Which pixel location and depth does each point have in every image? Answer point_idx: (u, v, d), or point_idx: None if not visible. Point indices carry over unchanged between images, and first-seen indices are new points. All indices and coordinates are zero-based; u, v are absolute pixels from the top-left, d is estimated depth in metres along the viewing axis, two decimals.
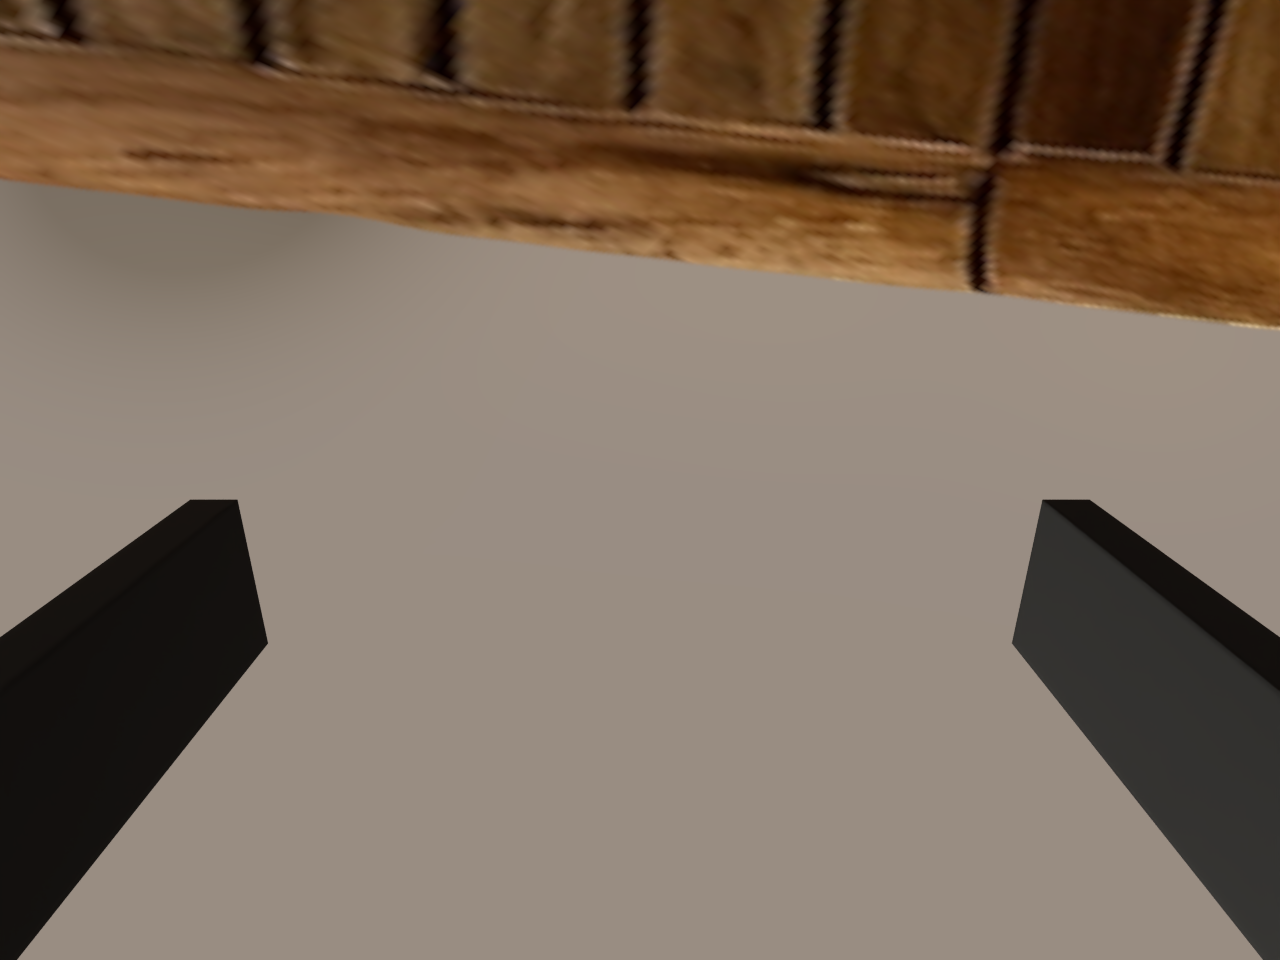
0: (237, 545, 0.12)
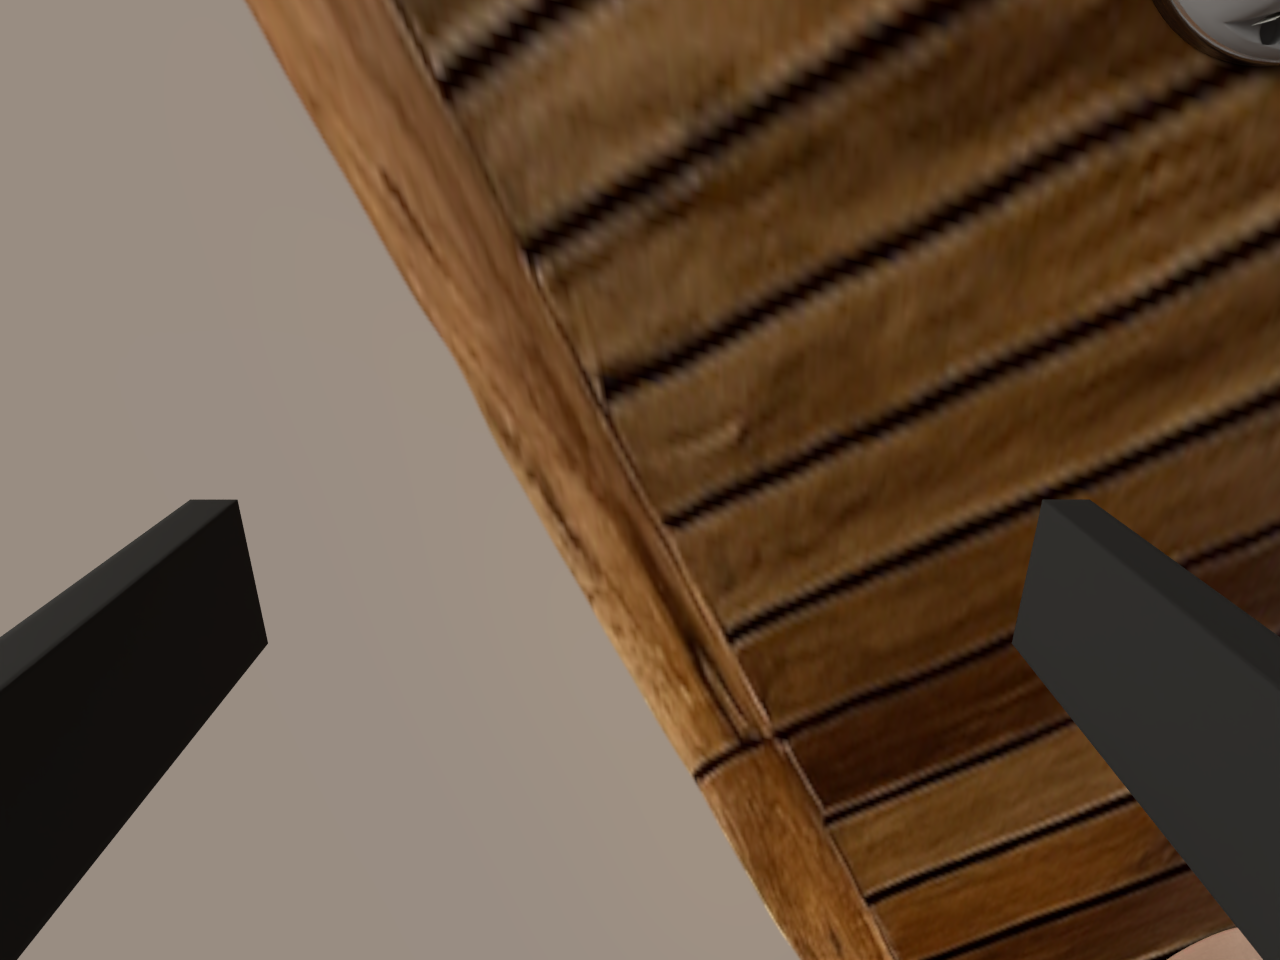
0: (237, 545, 0.12)
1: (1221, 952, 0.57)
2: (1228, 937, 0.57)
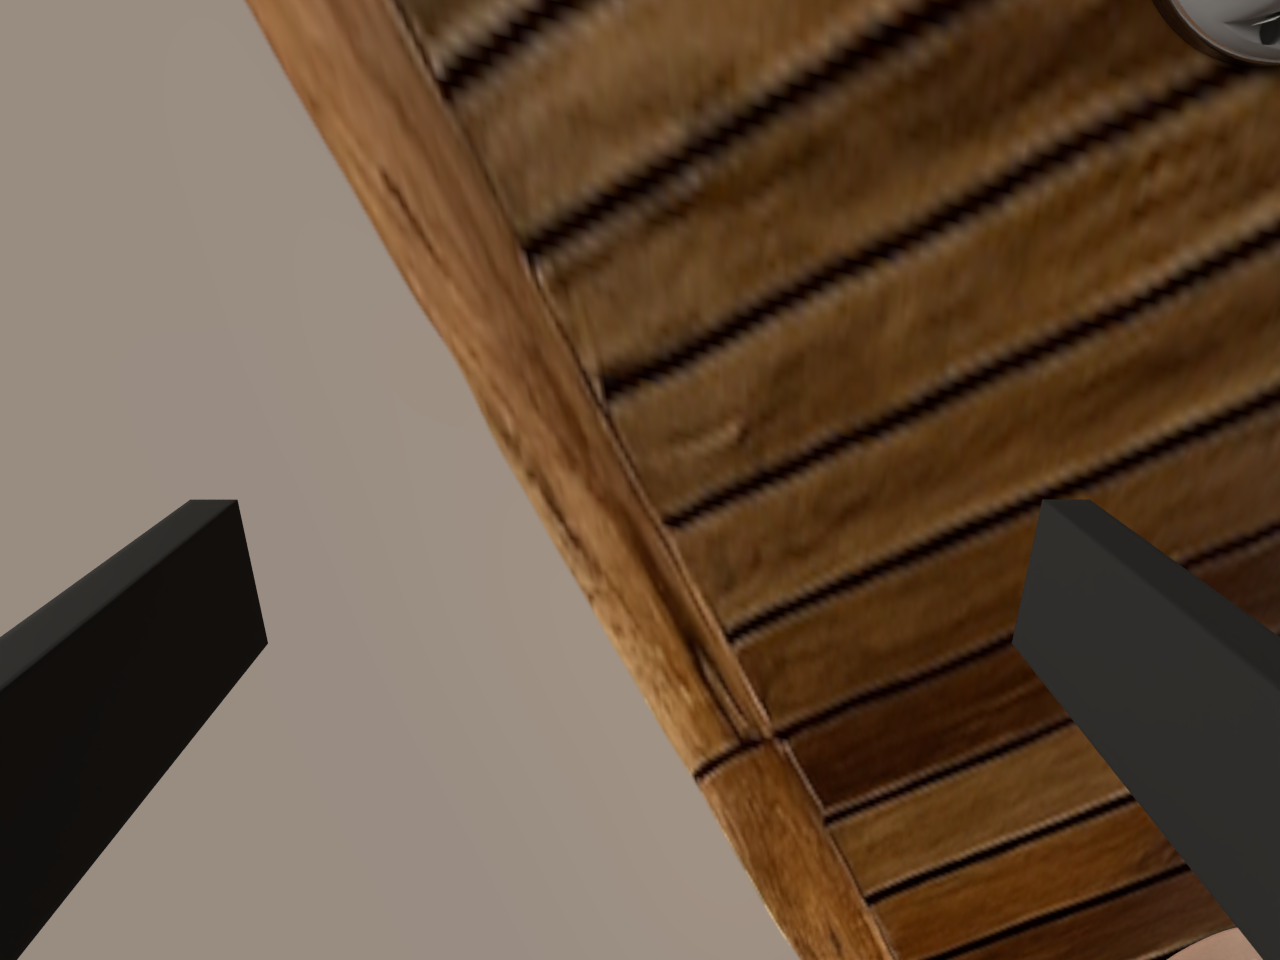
0: (237, 545, 0.12)
1: (1221, 952, 0.57)
2: (1228, 937, 0.57)
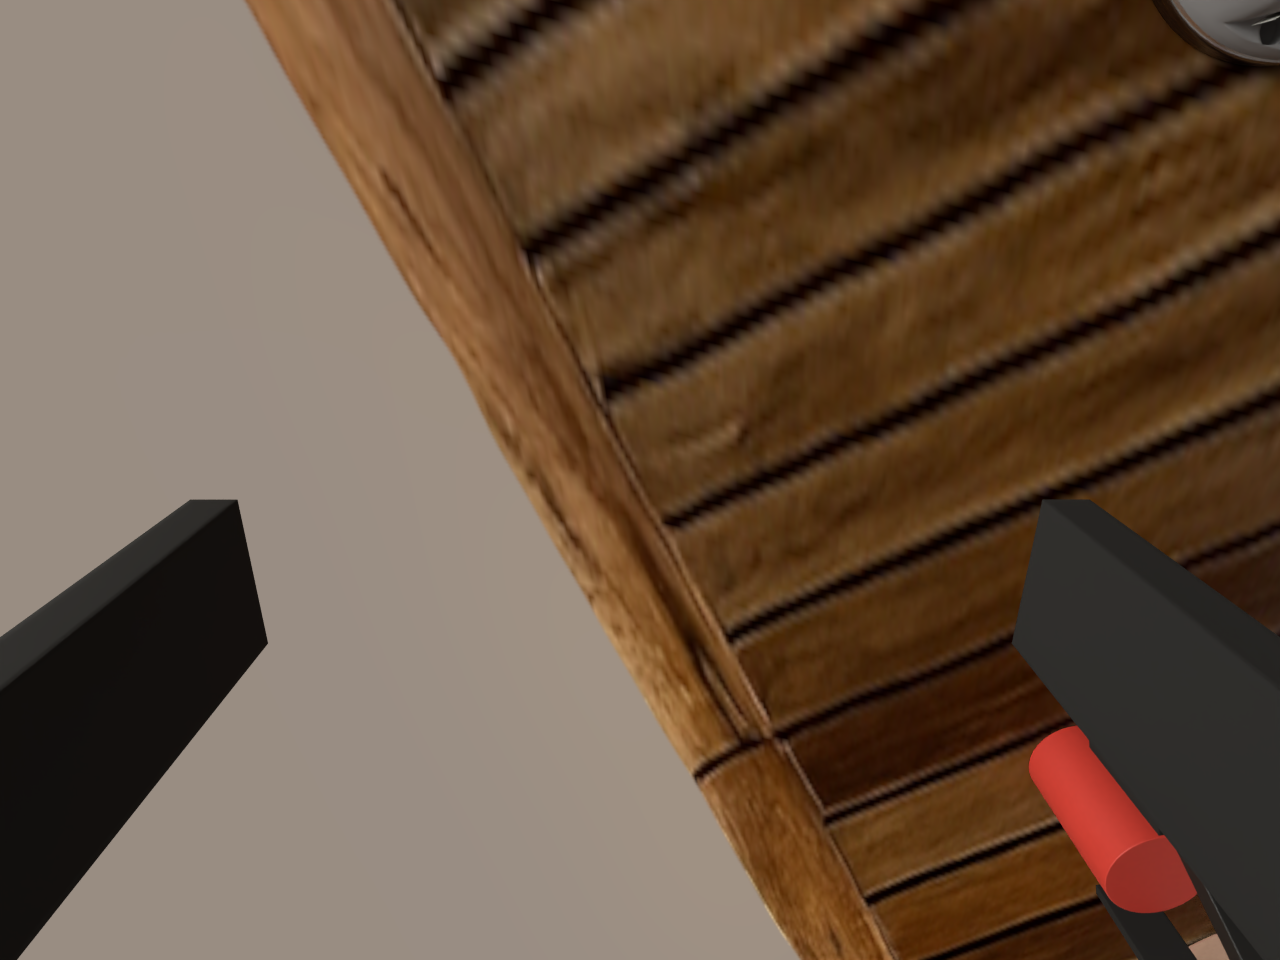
0: (237, 545, 0.12)
1: (1221, 952, 0.57)
2: None
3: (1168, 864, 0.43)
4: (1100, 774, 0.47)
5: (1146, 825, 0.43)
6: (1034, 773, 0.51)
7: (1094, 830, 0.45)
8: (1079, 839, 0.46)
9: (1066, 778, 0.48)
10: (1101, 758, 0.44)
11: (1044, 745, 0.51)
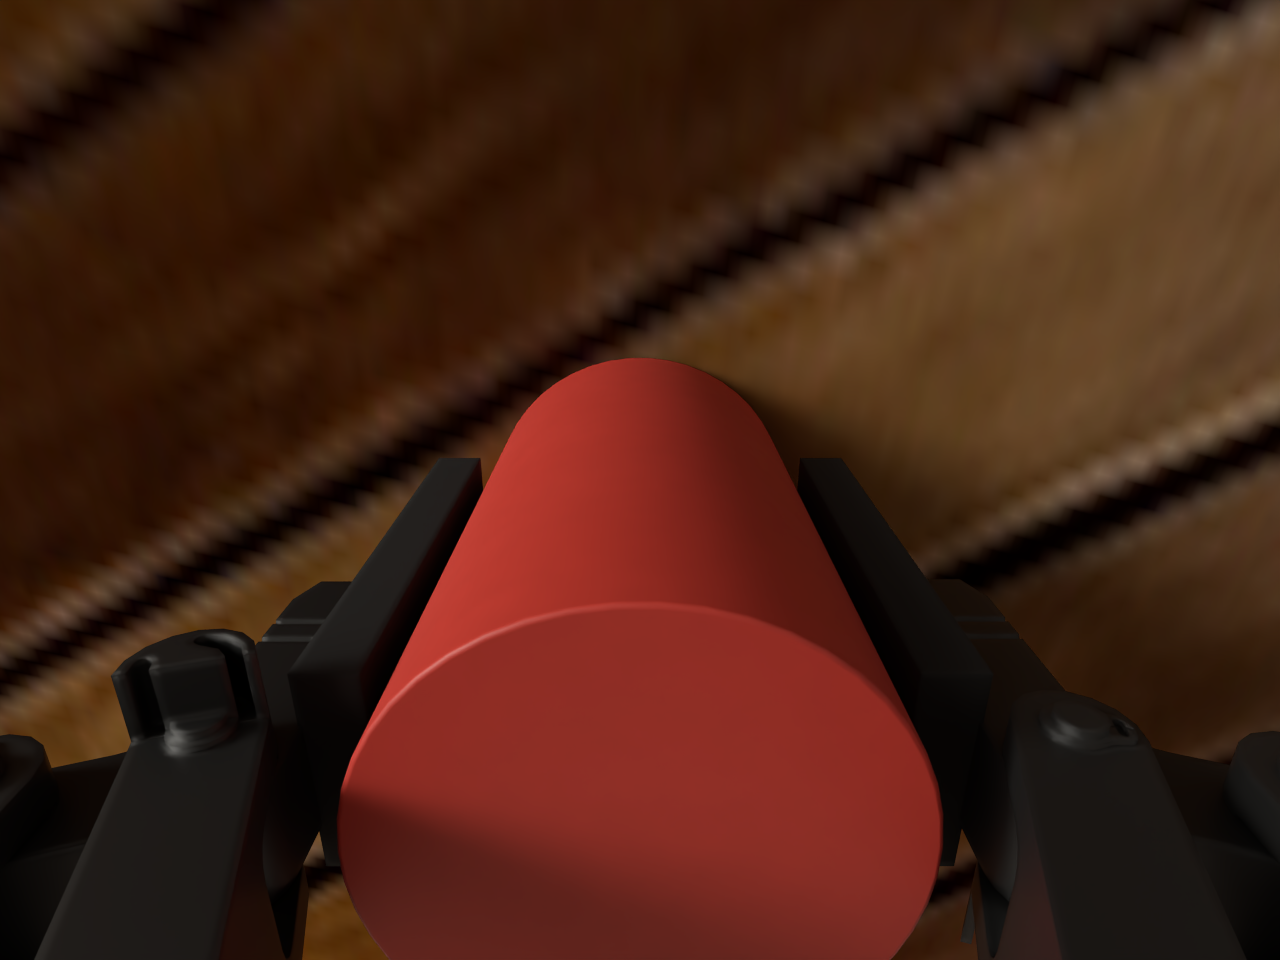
0: None
1: None
2: None
3: (674, 797, 0.07)
4: (563, 437, 0.11)
5: (552, 566, 0.07)
6: None
7: None
8: None
9: (484, 488, 0.12)
10: None
11: (515, 429, 0.15)
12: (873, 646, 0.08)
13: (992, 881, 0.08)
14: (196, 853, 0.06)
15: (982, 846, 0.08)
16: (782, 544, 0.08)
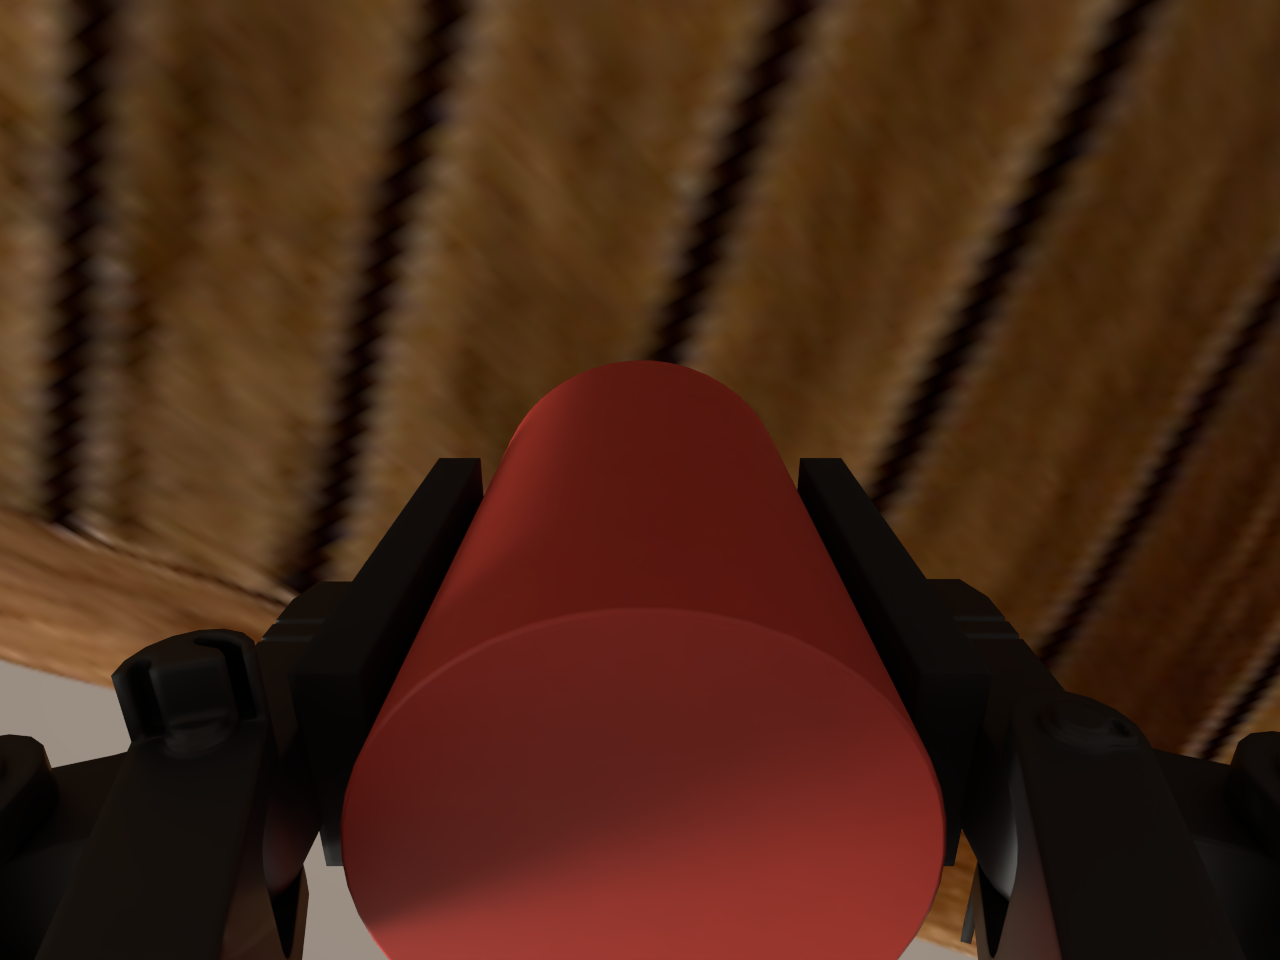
0: (480, 498, 0.14)
1: None
2: None
3: (676, 802, 0.07)
4: (564, 440, 0.11)
5: (556, 571, 0.07)
6: None
7: None
8: None
9: (487, 491, 0.12)
10: None
11: (516, 431, 0.15)
12: (875, 651, 0.08)
13: (991, 881, 0.08)
14: (196, 853, 0.06)
15: (982, 846, 0.08)
16: (784, 548, 0.08)
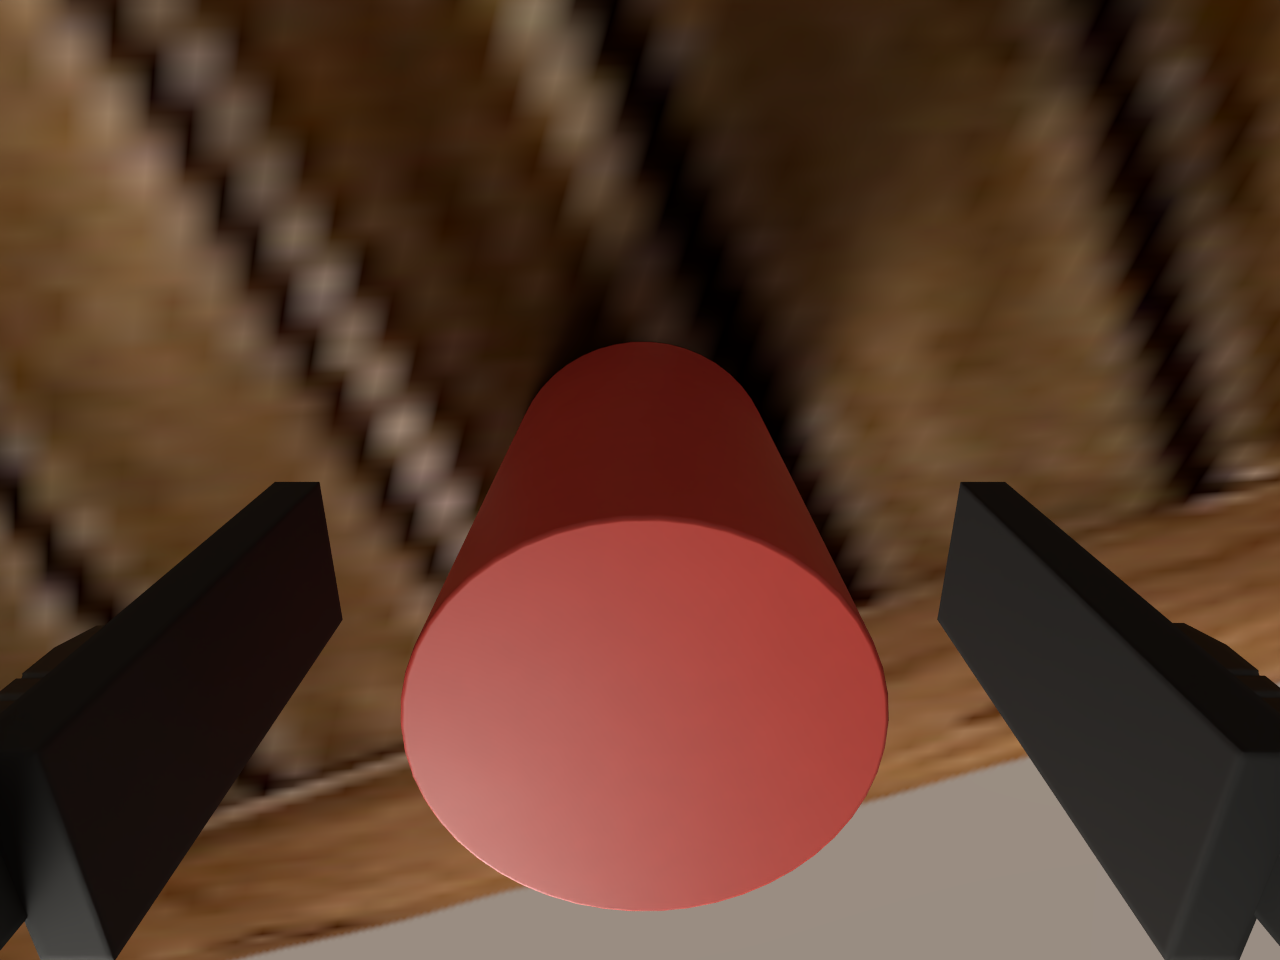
0: (319, 525, 0.13)
1: None
2: None
3: (671, 678, 0.09)
4: (576, 405, 0.13)
5: (575, 494, 0.09)
6: None
7: (452, 568, 0.11)
8: None
9: (507, 452, 0.14)
10: None
11: (531, 405, 0.17)
12: (836, 568, 0.10)
13: None
14: None
15: None
16: (760, 484, 0.10)
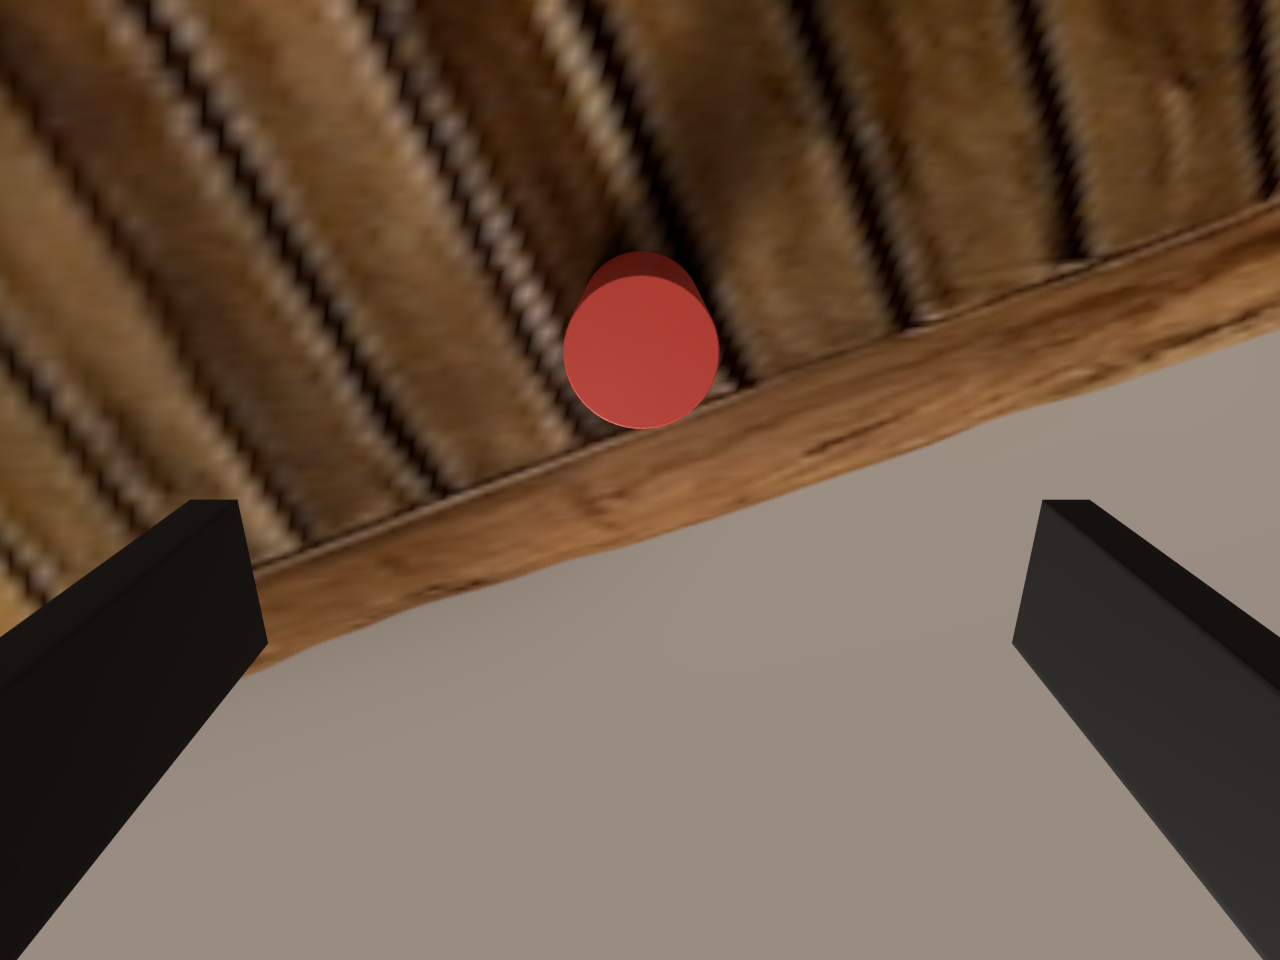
0: (237, 545, 0.12)
1: None
2: None
3: (649, 331, 0.28)
4: (614, 265, 0.32)
5: (619, 275, 0.29)
6: None
7: None
8: None
9: (584, 290, 0.34)
10: None
11: None
12: None
13: None
14: None
15: None
16: (680, 280, 0.30)
